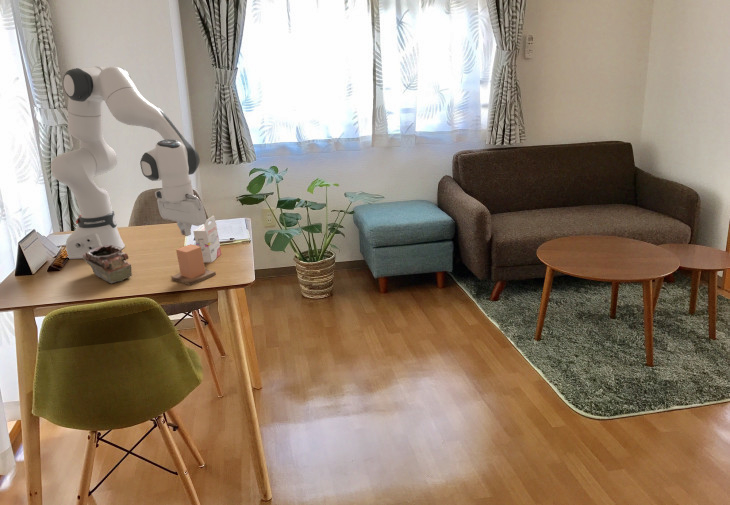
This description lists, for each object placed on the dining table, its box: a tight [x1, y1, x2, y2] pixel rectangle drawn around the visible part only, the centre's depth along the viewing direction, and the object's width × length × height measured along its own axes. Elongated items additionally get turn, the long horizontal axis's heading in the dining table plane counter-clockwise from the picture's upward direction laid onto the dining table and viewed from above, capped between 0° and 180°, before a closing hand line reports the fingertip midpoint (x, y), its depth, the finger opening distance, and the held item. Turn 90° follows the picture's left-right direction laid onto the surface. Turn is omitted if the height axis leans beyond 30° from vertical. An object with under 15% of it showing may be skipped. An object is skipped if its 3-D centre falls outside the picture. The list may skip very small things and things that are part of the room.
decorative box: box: [82, 245, 133, 285], centre depth 209 cm, size 13×20×10 cm, turn 39°
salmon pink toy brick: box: [175, 244, 206, 279], centre depth 202 cm, size 6×6×9 cm
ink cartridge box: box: [192, 215, 222, 263], centre depth 218 cm, size 9×5×15 cm, turn 168°
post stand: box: [171, 268, 217, 286], centre depth 203 cm, size 10×10×8 cm
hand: (186, 234), depth 199 cm, fingers closed
